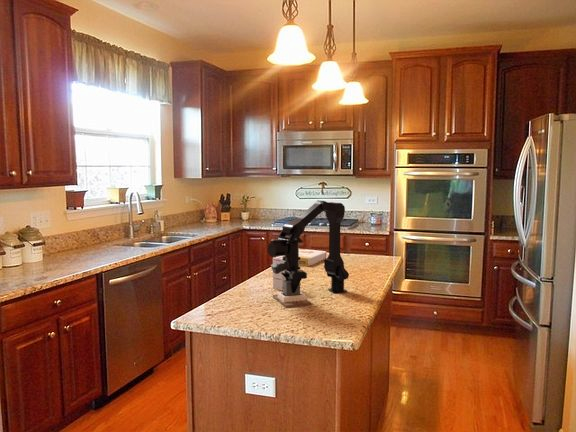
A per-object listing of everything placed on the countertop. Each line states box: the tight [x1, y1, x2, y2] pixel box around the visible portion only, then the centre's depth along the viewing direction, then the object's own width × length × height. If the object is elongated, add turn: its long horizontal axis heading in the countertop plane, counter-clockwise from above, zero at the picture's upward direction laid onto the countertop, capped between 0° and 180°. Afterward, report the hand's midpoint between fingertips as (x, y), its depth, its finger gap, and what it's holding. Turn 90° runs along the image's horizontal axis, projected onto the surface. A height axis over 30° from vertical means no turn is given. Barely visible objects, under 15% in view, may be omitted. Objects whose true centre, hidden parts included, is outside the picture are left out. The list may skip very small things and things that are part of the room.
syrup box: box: [272, 256, 286, 291], centre depth 212 cm, size 6×6×14 cm
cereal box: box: [276, 248, 327, 268], centre depth 278 cm, size 20×6×28 cm
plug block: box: [282, 280, 301, 296], centre depth 192 cm, size 4×6×6 cm, turn 110°
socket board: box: [272, 291, 312, 309], centre depth 192 cm, size 16×11×3 cm
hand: (291, 291), depth 192 cm, fingers closed on plug block, 4 cm apart
